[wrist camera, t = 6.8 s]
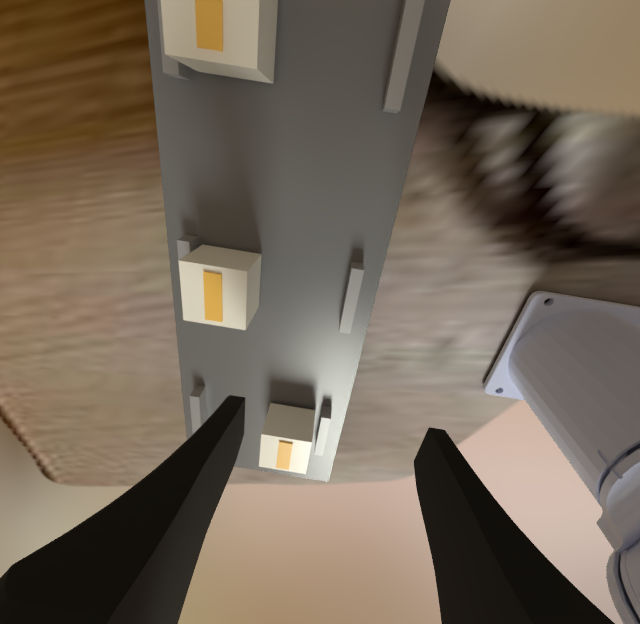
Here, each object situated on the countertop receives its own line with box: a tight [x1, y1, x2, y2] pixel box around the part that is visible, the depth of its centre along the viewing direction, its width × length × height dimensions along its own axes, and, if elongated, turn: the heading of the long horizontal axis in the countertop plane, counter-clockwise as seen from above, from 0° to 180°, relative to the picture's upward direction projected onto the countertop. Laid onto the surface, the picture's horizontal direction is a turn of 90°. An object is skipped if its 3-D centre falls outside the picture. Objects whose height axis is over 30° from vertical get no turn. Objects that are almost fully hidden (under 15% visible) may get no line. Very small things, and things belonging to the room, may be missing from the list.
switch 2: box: [259, 403, 316, 474], centre depth 20 cm, size 3×3×3 cm
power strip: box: [145, 0, 450, 482], centre depth 17 cm, size 11×32×4 cm, turn 172°
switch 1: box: [161, 0, 278, 84], centre depth 10 cm, size 3×3×3 cm
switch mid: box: [178, 245, 262, 330], centre depth 15 cm, size 3×3×3 cm
